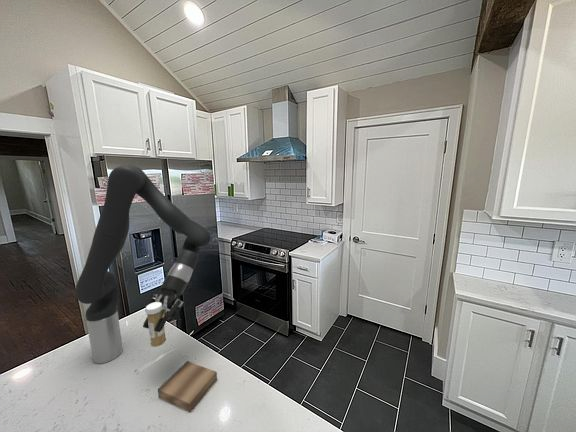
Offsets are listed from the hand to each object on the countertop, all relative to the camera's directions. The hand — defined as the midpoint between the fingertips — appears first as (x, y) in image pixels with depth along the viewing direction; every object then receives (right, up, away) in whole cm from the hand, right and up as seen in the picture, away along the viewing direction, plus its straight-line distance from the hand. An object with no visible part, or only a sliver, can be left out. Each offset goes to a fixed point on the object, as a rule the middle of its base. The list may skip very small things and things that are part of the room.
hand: (151, 329), depth 74 cm
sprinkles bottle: (+1, -6, +3) cm, 7 cm away
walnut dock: (+12, -20, +1) cm, 23 cm away
